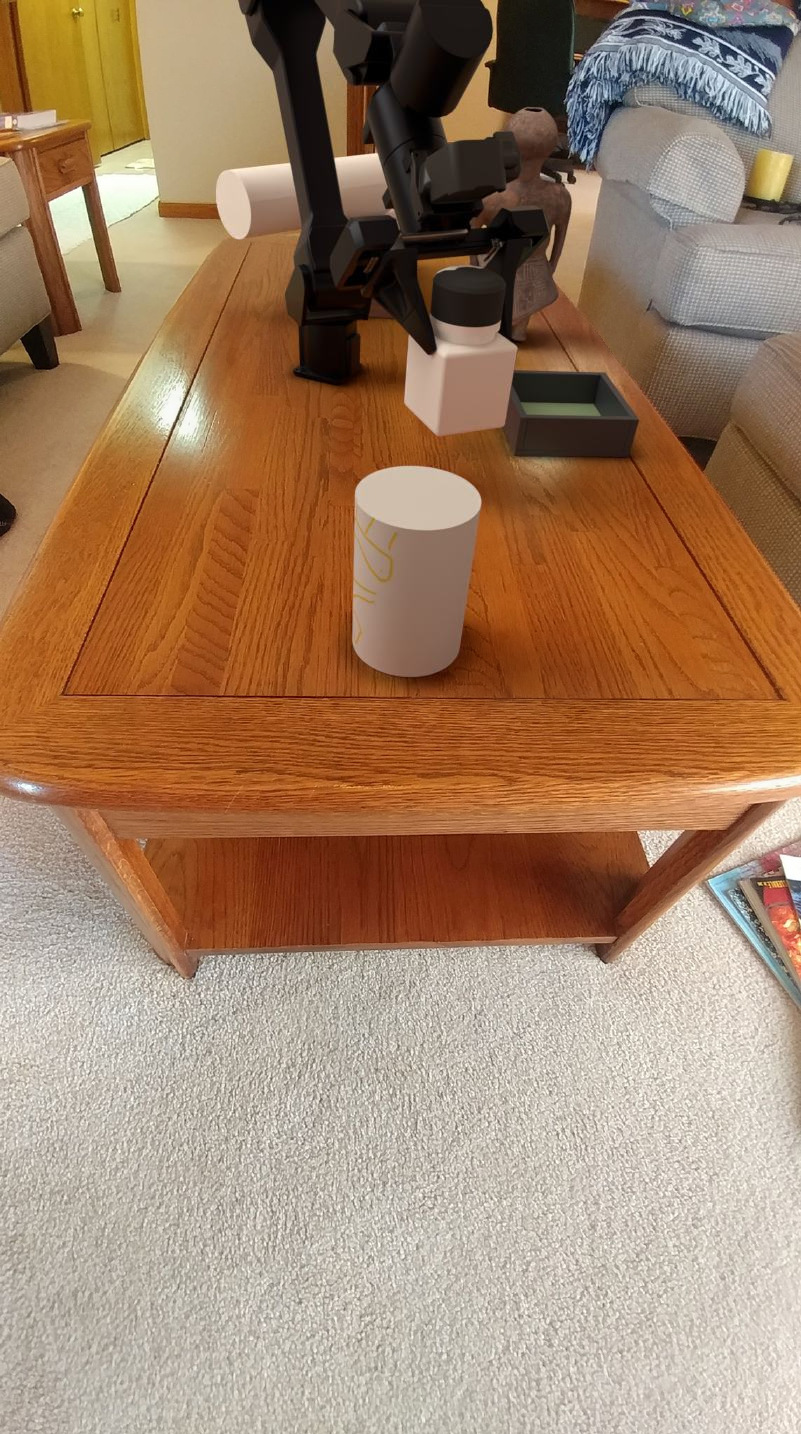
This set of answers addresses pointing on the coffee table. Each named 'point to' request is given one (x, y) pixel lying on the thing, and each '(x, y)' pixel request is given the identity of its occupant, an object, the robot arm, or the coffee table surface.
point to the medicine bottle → (462, 355)
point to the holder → (568, 415)
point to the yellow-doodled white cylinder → (412, 567)
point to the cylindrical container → (293, 195)
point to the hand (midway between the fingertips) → (470, 347)
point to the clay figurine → (535, 146)
